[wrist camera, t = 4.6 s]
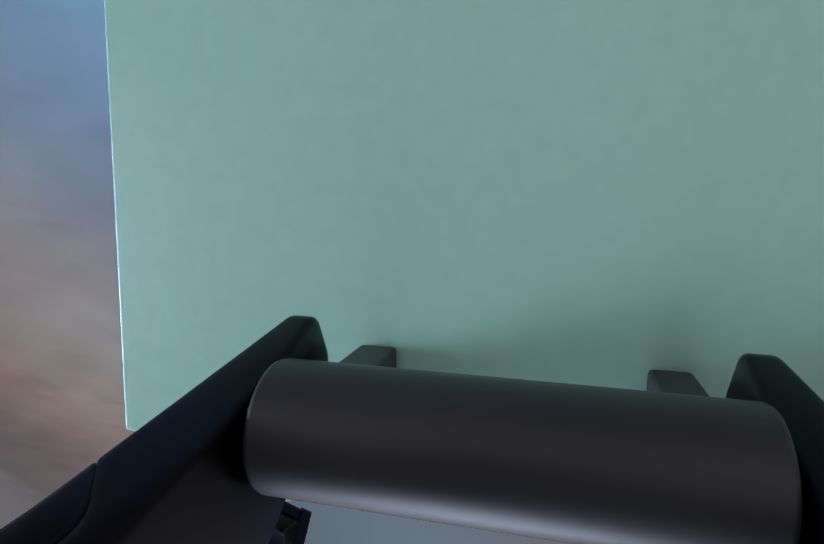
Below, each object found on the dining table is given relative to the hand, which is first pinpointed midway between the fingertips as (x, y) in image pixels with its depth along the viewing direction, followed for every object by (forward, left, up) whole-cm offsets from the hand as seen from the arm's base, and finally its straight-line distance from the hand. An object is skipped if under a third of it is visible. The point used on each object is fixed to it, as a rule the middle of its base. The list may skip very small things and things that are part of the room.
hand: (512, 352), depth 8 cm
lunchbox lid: (+2, 0, -4) cm, 4 cm away
